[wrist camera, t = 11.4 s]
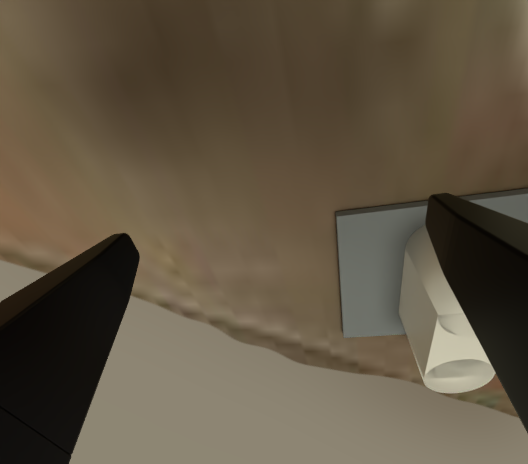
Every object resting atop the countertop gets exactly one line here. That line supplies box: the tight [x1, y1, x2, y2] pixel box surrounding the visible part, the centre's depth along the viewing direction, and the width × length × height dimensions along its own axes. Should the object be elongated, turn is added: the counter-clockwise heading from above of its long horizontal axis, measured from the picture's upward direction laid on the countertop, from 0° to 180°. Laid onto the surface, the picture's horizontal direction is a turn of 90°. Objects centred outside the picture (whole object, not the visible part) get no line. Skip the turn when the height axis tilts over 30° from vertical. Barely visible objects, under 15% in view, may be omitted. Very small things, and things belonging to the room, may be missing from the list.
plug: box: [399, 225, 495, 393], centre depth 22 cm, size 4×14×6 cm, turn 11°
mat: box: [336, 188, 528, 338], centre depth 24 cm, size 14×14×1 cm
